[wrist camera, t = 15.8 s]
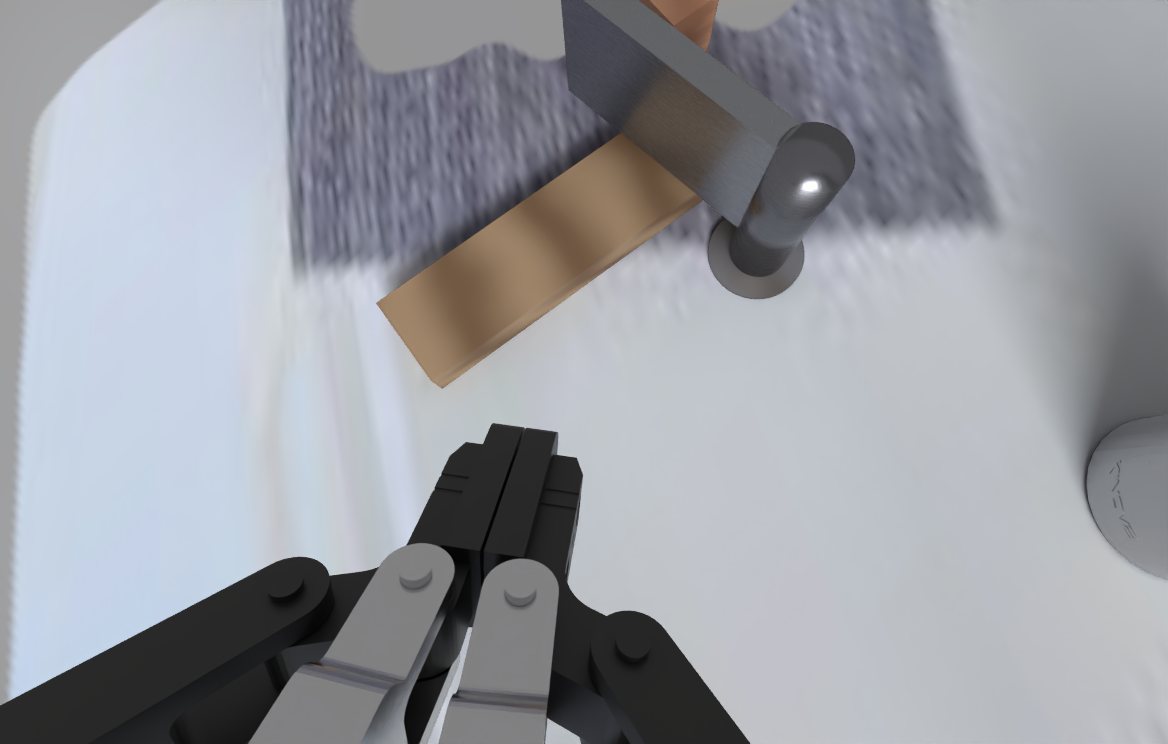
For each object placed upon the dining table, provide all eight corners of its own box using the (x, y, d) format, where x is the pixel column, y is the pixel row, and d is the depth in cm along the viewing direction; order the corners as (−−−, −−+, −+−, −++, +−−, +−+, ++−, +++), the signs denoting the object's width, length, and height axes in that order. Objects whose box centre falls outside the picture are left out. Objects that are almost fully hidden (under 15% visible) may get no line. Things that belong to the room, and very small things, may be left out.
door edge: (661, 52, 41) (674, -53, 33) (842, 247, 38) (904, 180, 30) (353, 263, 38) (289, 203, 31) (516, 493, 35) (491, 491, 27)
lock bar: (798, 248, 37) (871, 154, 27) (761, 288, 36) (821, 207, 26) (598, 87, 40) (596, -52, 30) (561, 122, 39) (546, -8, 29)
